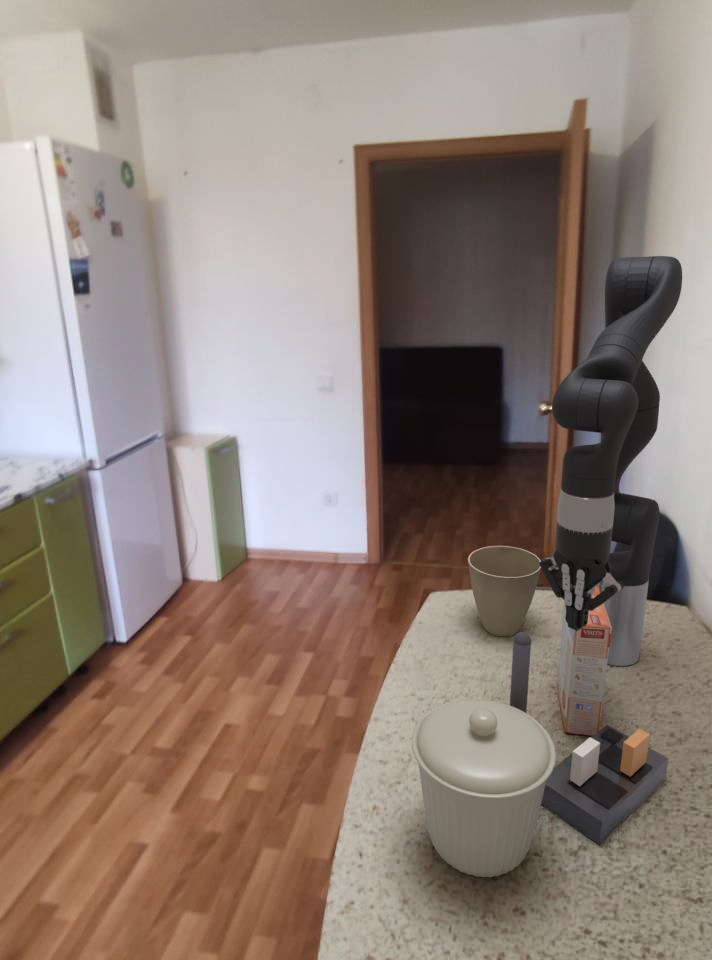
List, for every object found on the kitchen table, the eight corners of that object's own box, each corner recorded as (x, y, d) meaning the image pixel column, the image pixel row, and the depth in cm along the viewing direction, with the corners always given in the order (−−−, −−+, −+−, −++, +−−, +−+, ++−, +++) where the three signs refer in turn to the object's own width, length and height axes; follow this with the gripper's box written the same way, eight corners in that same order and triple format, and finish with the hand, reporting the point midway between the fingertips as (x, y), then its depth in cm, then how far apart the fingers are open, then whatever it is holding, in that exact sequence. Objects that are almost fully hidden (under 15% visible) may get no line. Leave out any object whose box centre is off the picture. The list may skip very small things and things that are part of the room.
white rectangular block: (587, 765, 96) (590, 737, 95) (597, 771, 95) (600, 742, 94) (569, 779, 94) (572, 751, 92) (579, 786, 93) (582, 757, 91)
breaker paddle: (635, 756, 98) (639, 728, 96) (646, 762, 97) (650, 734, 95) (620, 770, 95) (623, 742, 94) (630, 776, 94) (634, 748, 92)
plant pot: (452, 621, 144) (453, 554, 139) (506, 604, 151) (509, 540, 146) (495, 654, 132) (498, 583, 127) (552, 635, 138) (557, 566, 133)
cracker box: (601, 738, 108) (613, 627, 101) (562, 734, 109) (572, 623, 103) (589, 687, 121) (600, 585, 114) (555, 683, 122) (564, 582, 116)
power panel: (604, 745, 107) (607, 723, 105) (665, 780, 99) (668, 756, 98) (537, 801, 96) (539, 778, 94) (599, 845, 88) (602, 820, 87)
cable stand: (509, 756, 105) (517, 615, 97) (547, 780, 100) (558, 634, 92) (480, 777, 101) (486, 632, 93) (518, 804, 95) (527, 653, 87)
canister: (544, 801, 96) (554, 678, 89) (550, 916, 79) (563, 775, 73) (420, 783, 100) (421, 663, 93) (401, 888, 83) (401, 752, 77)
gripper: (643, 526, 90) (630, 635, 96) (559, 501, 100) (552, 602, 105) (613, 541, 86) (602, 655, 91) (529, 514, 95) (523, 619, 101)
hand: (575, 627), depth 98 cm, fingers closed
